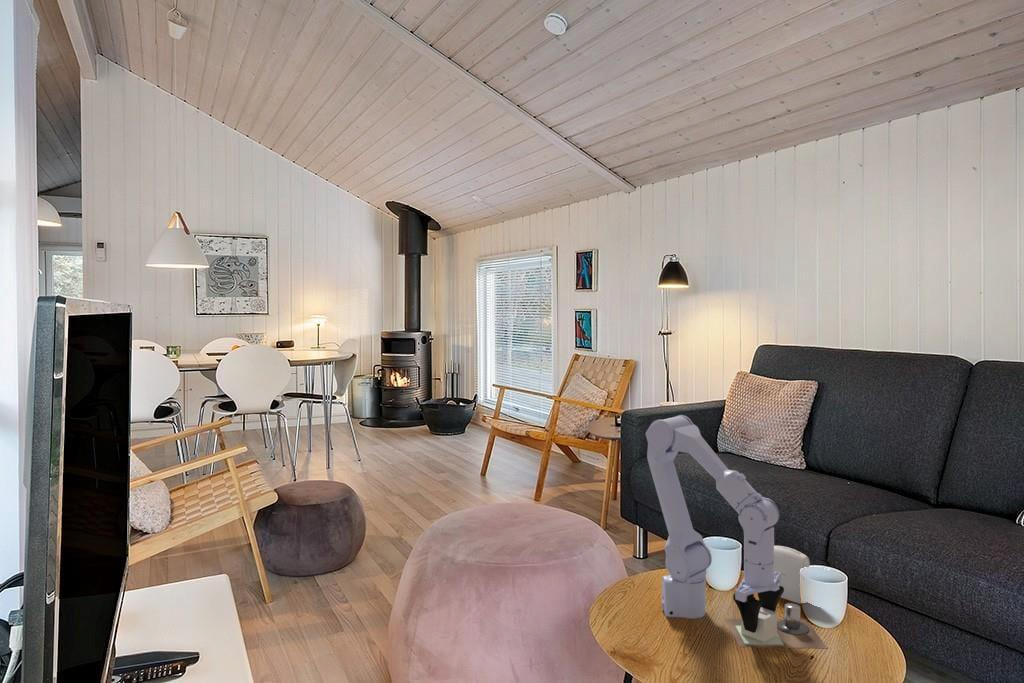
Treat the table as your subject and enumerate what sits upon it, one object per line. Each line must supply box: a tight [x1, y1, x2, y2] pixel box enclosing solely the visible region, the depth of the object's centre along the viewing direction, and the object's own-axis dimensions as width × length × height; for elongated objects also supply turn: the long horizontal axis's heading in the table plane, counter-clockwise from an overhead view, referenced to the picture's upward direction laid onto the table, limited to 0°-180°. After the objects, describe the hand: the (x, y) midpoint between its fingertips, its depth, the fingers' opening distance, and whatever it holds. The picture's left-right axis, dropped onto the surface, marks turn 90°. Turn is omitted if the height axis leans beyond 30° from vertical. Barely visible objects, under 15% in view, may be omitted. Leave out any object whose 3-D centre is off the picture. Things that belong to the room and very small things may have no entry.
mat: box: [735, 626, 784, 646], centre depth 137 cm, size 8×8×1 cm
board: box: [724, 618, 829, 650], centre depth 139 cm, size 17×12×1 cm
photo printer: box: [774, 545, 811, 605], centre depth 156 cm, size 10×4×12 cm, turn 39°
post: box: [777, 602, 809, 635], centre depth 141 cm, size 6×6×4 cm
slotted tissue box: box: [740, 607, 778, 642], centre depth 137 cm, size 5×5×5 cm
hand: (758, 625), depth 137 cm, fingers open, 6 cm apart
